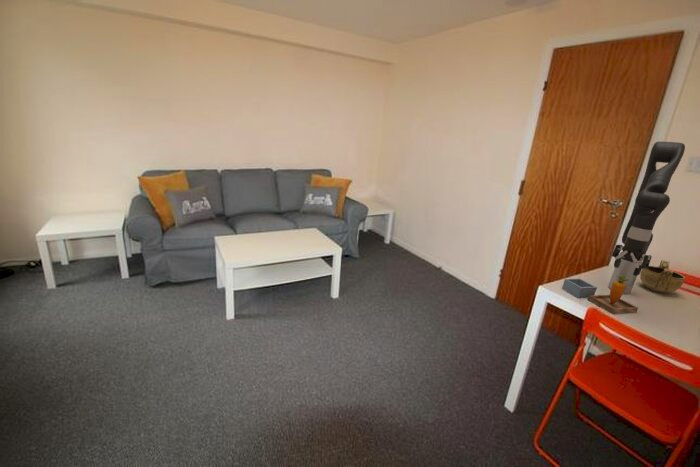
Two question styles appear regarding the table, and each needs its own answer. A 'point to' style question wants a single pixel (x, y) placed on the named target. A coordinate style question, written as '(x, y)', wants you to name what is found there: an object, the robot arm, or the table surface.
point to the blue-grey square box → (579, 288)
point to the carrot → (617, 289)
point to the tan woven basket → (661, 278)
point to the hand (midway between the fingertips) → (625, 271)
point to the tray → (614, 308)
